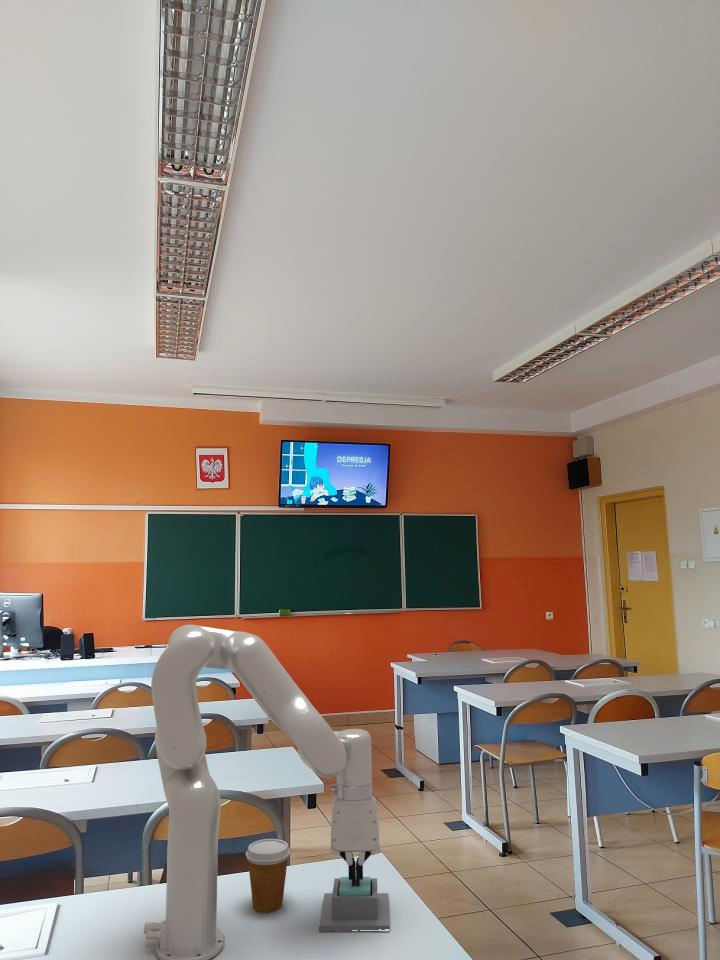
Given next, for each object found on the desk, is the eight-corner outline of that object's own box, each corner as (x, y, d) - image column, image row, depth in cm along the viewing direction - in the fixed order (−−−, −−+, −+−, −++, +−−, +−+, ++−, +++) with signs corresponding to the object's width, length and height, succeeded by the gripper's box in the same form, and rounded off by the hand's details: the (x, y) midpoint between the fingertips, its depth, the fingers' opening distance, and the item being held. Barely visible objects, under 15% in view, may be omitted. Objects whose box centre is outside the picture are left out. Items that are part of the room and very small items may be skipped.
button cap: (339, 911, 139) (338, 890, 139) (340, 896, 145) (340, 876, 146) (370, 911, 139) (370, 890, 139) (370, 896, 145) (370, 876, 146)
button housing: (319, 932, 135) (318, 903, 136) (324, 899, 149) (324, 873, 149) (389, 932, 134) (389, 903, 135) (388, 899, 148) (388, 873, 149)
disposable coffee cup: (295, 911, 143) (295, 850, 145) (250, 920, 140) (251, 857, 142) (283, 892, 152) (283, 835, 154) (241, 900, 149) (241, 841, 150)
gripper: (318, 797, 142) (318, 891, 139) (389, 796, 141) (391, 891, 139) (321, 786, 149) (321, 875, 146) (389, 785, 149) (391, 875, 146)
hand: (355, 883), depth 143 cm, fingers closed
